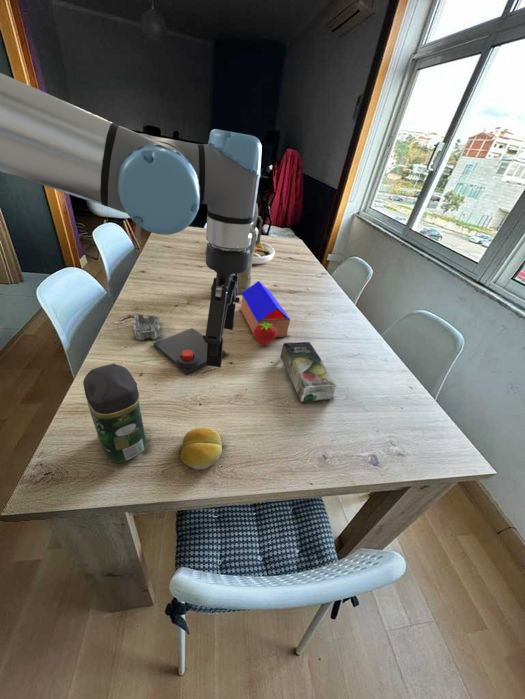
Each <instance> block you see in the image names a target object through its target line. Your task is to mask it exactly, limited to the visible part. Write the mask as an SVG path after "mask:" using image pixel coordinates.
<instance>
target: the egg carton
mask: <svg viewBox="0 0 525 699" xmlns="http://www.w3.org/2000/svg"><path fill="white" fill-rule="evenodd" d="M133 318H134V320H133V331H134V335H135V339H136V340H137V339H138V340H140V341H144V340H146V339H151V340H156V339H157V338H160V328H161V327H160V326H161V324H160V323H161V322H160V321H161V320H160V315H158V314H156V315H155V314H152V315H150V314H147V316H144V314H142V313H137V312H134V317H133Z"/></svg>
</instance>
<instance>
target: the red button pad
mask: <svg viewBox="0 0 525 699" xmlns="http://www.w3.org/2000/svg"><path fill="white" fill-rule="evenodd" d="M207 344H208V343H206V342H205V340H204V339H203V334H201V333H200V332H198V331H197V330H195V329H194V328H193V327H192V328H189V329H186V330H184V331H181V332H178V333H176V334H173V335H171V336H168V337H166V338H163V339H161V340H158V341H155V342H153V347H154V349H156V350H157V351H159V352H160V354H162V355H163V356H164V357H166V358H167V359H168V360H169V361H171V362H172V364H174V365H175V366H176V367H177V368H179V369H180V370H181V371H182V372H183V373H185V375H188V374H190V373H192V372H194V371H197V370H199V369H200V368H202V367H205V366H207ZM184 350H191V351H192V352H193V359H192V360H191V361H184V360H183V359H182V352H183V351H184ZM225 355H226V351H224V350H223V349H222V357H224V356H225Z"/></svg>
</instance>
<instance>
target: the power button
mask: <svg viewBox="0 0 525 699" xmlns="http://www.w3.org/2000/svg"><path fill="white" fill-rule="evenodd" d="M182 359H183V360H184V361H191V360H192V359H193V352H192V351H191V350H184V351H183V352H182Z"/></svg>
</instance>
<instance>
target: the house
mask: <svg viewBox="0 0 525 699" xmlns="http://www.w3.org/2000/svg"><path fill="white" fill-rule="evenodd" d="M241 296H242V297H241V303H240V311H241V313H242V314H243V316H244V318H245V321H246V322H247V325H248V326H249V328H250V330H251V333H252V335H254V329H255V327H257V326H258V324H260V323H262V324H264V323H263V321H264V322H266V323H268V322H269V324H274V325H272V326H274V327H275V328H276V330H277V335H276V337H275V338H282V337H287V335H288V332H289V331H288V330H289V326H290V322H291V318H290V316H289V315H288V314H287V312H286V311H285V309H284V308H283V306H281V304H280V303H279V301H278V300H277V299H276V297H275V296H274V295H273V293H272V292H271V291H270V290H269V289H268V288H267V287H266V286H265V285H264V284H263V283H262V282H261V281H260V280H257V281H256V282H255V283H254V284H252V285H250V288H248V289H247V290H246V291H244V292H243V293H242V294H241Z"/></svg>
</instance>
